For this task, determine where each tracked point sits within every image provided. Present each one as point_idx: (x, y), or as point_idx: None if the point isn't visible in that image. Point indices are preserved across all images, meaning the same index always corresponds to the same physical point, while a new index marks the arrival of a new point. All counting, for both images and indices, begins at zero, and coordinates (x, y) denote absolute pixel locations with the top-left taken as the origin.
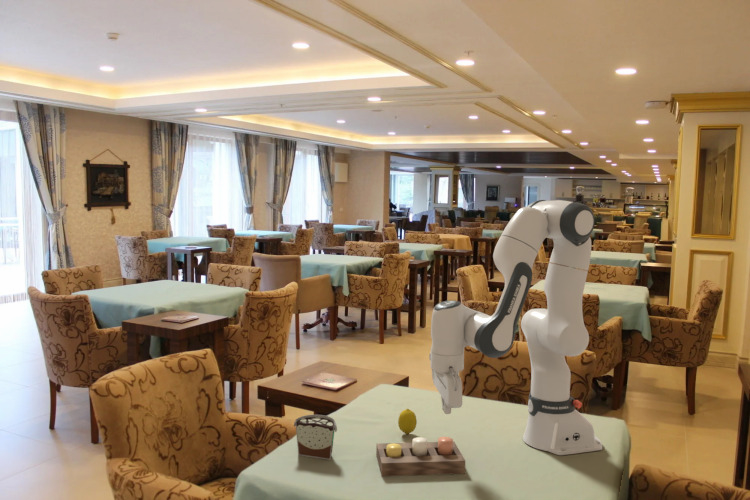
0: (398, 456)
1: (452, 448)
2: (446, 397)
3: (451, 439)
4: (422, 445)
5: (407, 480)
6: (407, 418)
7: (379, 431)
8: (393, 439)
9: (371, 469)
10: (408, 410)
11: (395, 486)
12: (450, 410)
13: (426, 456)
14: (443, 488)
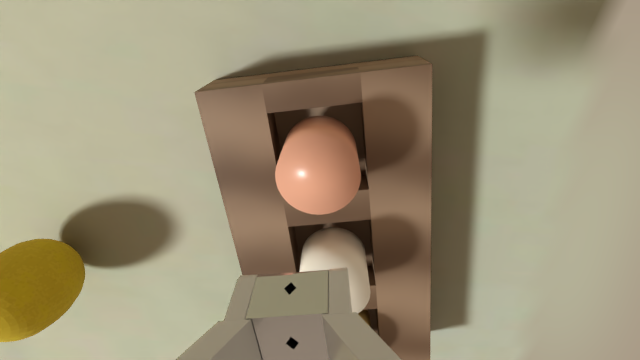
0: (366, 322)
1: (333, 126)
2: None
3: (311, 144)
4: (368, 279)
5: (453, 269)
6: (46, 310)
7: (77, 329)
8: (132, 293)
9: None
10: None
11: (489, 302)
12: (347, 290)
13: (379, 236)
14: (532, 161)
